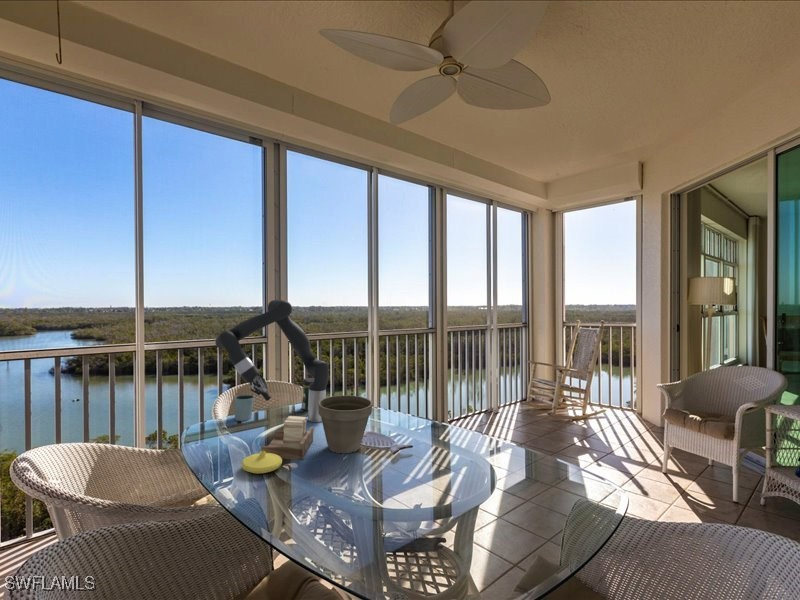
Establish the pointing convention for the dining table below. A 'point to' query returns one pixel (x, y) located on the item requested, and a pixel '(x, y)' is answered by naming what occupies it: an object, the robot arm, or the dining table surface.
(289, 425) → the stacked wooden blocks
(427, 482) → the dining table surface
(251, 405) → the light blue cup
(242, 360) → the robot arm
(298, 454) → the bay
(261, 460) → the yellow knobbed lid
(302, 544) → the dining table surface
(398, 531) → the dining table surface
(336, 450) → the plant pot
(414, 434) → the dining table surface
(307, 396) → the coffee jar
